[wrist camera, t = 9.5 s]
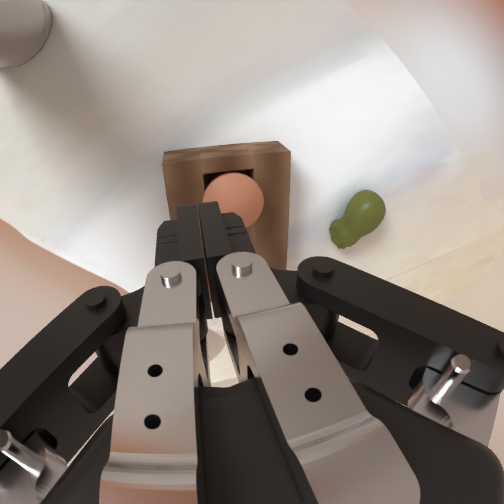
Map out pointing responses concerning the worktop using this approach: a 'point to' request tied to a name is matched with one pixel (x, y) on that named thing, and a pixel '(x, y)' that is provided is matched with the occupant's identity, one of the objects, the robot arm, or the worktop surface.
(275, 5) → the worktop surface
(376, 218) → the pear
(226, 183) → the tan round knob
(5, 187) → the worktop surface
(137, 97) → the worktop surface
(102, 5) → the worktop surface
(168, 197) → the brown wooden block
